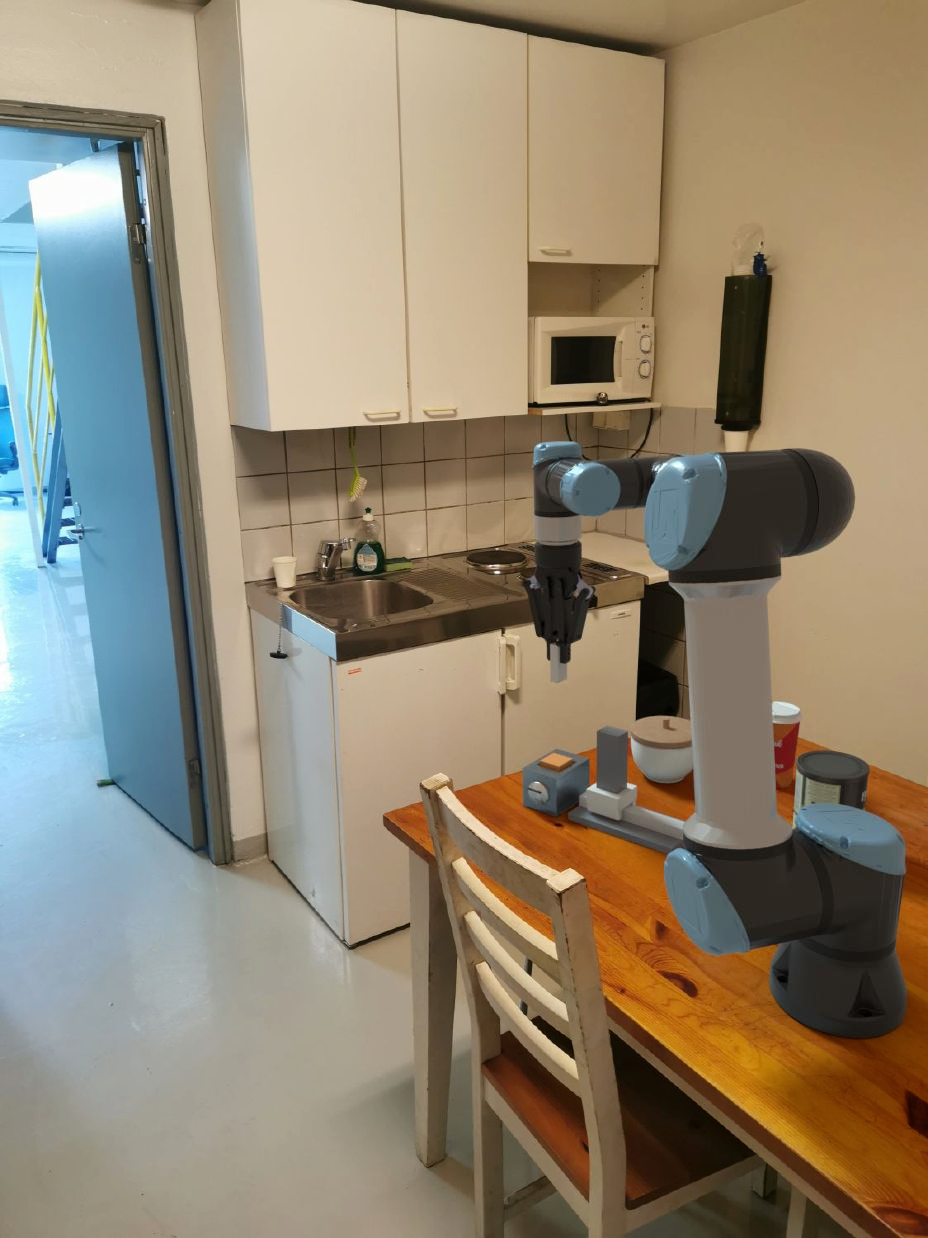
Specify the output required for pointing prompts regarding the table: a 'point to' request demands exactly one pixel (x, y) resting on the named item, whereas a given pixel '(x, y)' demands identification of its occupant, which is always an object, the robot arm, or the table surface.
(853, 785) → the coffee can
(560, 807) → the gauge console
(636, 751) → the lidded bowl
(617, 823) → the rail bed
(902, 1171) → the table surface
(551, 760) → the button
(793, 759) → the paper cup
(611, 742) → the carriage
